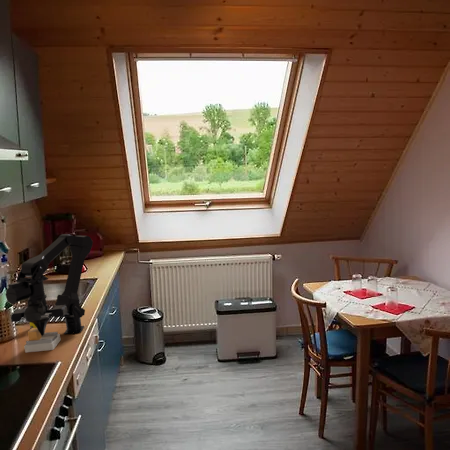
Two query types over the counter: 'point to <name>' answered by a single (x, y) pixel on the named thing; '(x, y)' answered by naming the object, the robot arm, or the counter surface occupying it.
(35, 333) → the orange block
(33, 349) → the grey stepped platform
